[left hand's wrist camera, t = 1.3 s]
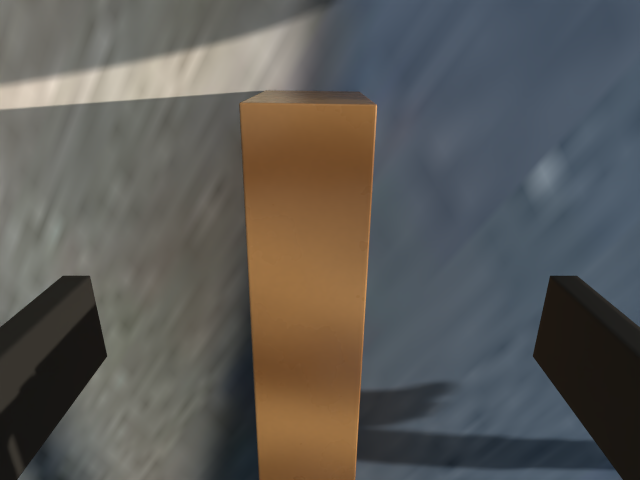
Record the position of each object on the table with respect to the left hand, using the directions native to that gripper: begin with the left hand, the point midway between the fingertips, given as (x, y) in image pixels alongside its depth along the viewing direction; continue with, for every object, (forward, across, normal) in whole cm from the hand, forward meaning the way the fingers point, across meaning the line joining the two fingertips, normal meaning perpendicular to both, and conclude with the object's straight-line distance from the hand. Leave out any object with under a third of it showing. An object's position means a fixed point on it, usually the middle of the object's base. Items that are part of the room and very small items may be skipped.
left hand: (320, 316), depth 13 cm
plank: (+12, -1, -23) cm, 26 cm away
